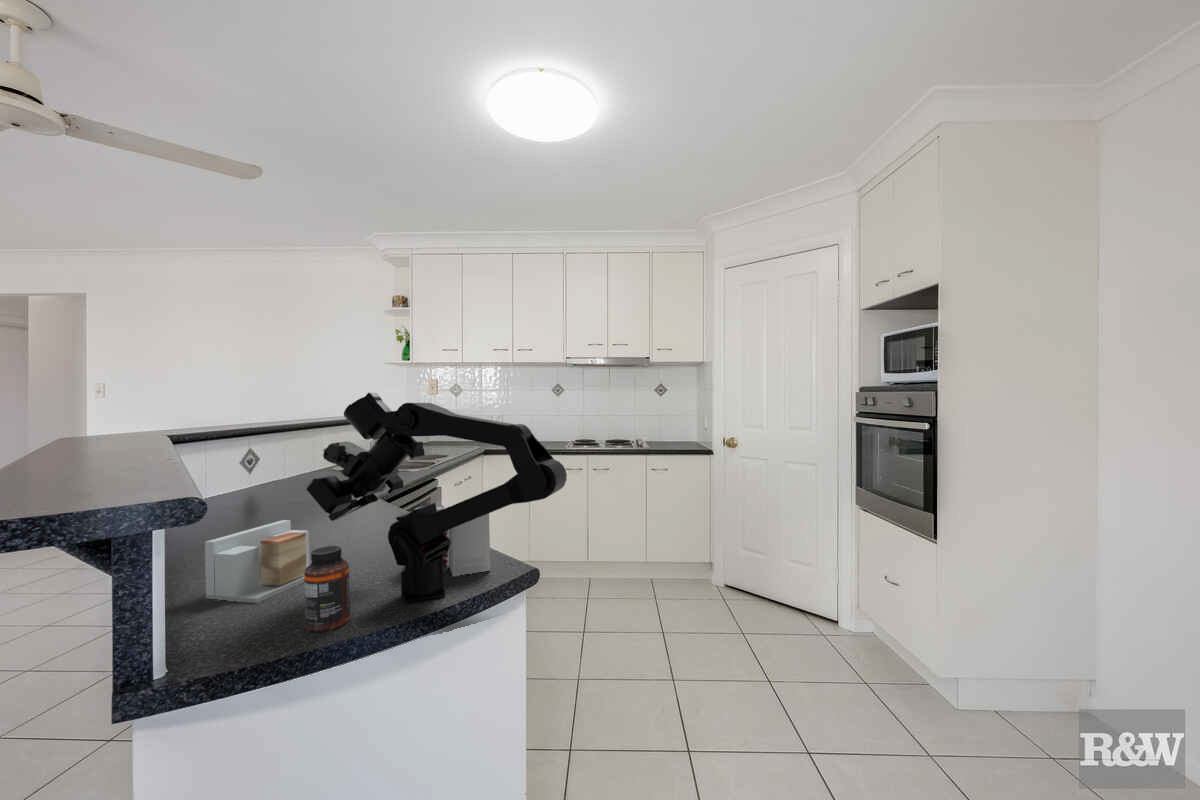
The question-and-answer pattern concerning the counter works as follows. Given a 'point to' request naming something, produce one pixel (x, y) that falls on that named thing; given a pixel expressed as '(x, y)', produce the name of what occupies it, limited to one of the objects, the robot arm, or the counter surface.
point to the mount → (244, 564)
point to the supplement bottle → (327, 590)
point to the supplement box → (470, 547)
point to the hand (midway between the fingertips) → (332, 518)
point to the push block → (283, 558)
